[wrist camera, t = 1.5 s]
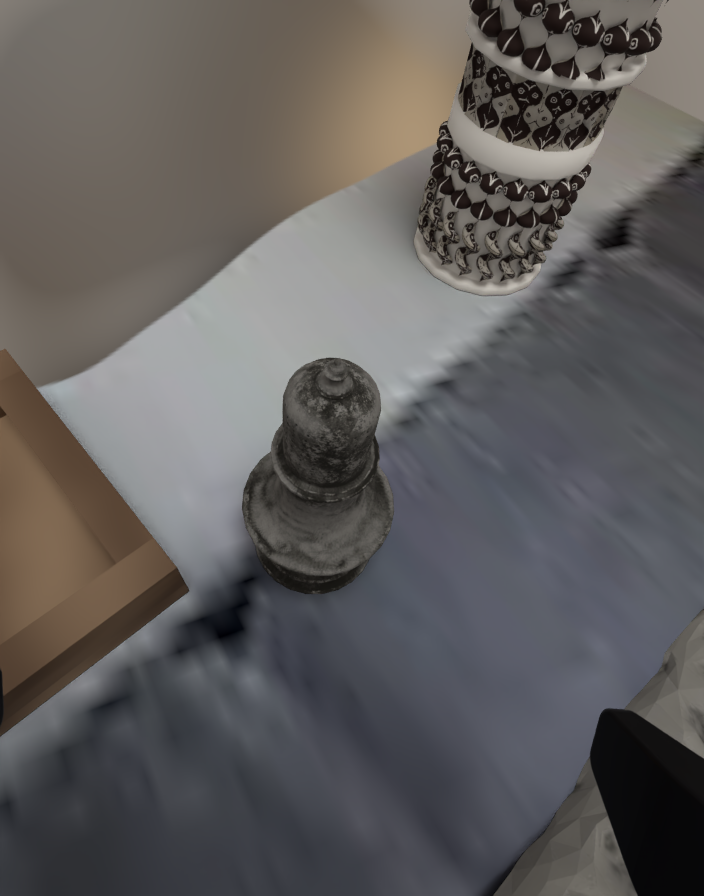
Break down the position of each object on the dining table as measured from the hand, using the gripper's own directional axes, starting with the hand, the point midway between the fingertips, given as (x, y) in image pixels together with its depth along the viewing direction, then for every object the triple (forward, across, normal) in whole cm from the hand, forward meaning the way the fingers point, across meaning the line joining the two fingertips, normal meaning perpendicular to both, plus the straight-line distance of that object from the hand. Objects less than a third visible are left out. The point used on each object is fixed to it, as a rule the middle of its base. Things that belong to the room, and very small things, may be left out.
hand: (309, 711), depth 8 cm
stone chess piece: (+16, 0, +4) cm, 16 cm away
